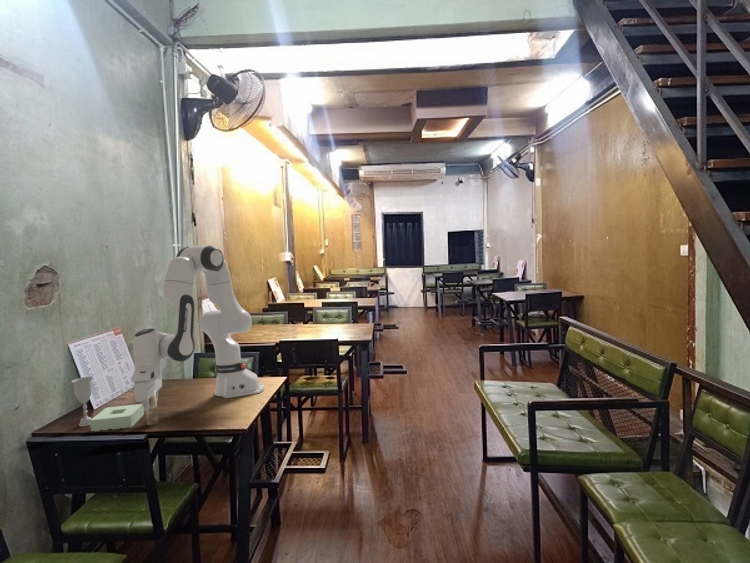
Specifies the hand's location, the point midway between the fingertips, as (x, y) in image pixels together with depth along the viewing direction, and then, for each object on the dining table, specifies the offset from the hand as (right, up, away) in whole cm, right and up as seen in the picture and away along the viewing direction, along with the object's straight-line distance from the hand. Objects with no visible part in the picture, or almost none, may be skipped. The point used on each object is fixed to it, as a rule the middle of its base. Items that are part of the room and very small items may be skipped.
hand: (151, 406), depth 168 cm
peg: (0, -7, +1) cm, 7 cm away
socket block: (-14, -7, +3) cm, 16 cm away
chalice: (-28, -8, +4) cm, 29 cm away
